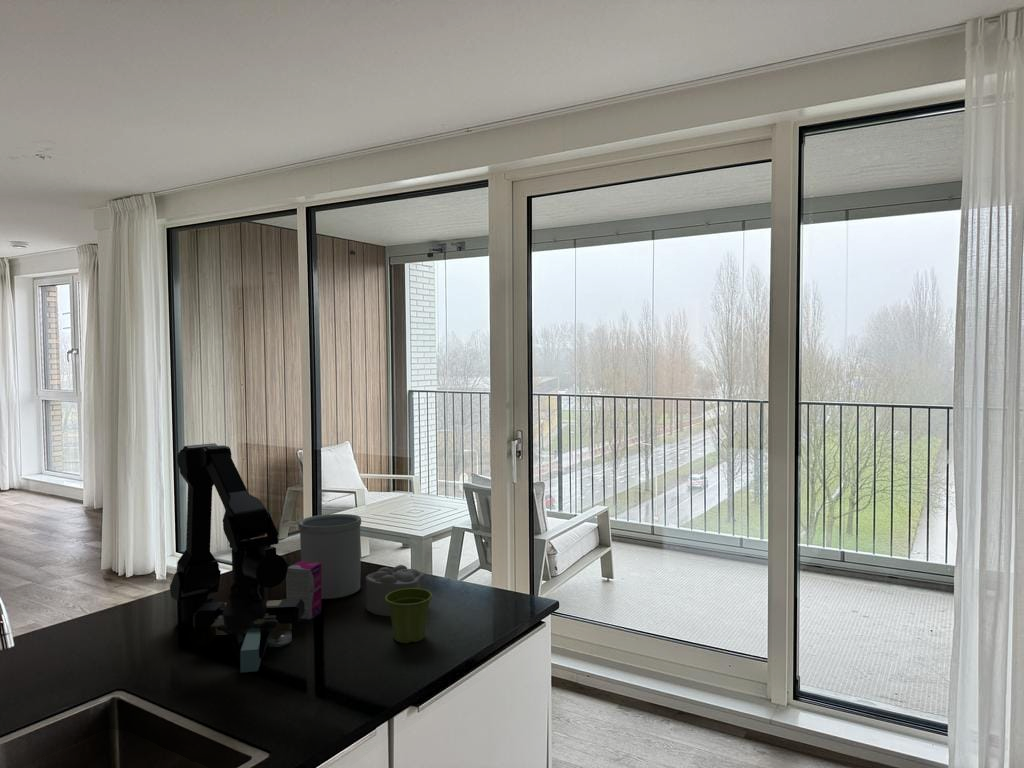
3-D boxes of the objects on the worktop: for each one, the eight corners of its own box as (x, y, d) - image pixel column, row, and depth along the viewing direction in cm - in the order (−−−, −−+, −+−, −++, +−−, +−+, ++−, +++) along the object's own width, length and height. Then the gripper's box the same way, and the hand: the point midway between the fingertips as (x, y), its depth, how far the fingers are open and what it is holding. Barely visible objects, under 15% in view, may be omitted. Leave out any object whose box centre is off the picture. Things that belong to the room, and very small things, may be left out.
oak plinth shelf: (202, 651, 135) (201, 619, 135) (218, 633, 144) (217, 602, 144) (281, 648, 137) (280, 615, 136) (291, 630, 146) (290, 599, 145)
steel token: (262, 649, 137) (262, 641, 137) (269, 638, 142) (269, 631, 142) (288, 647, 137) (288, 639, 137) (294, 637, 142) (294, 629, 142)
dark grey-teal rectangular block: (240, 672, 125) (240, 650, 125) (251, 637, 142) (251, 618, 142) (257, 671, 126) (258, 649, 126) (267, 636, 142) (267, 617, 142)
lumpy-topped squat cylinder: (413, 617, 152) (412, 578, 152) (358, 614, 155) (357, 575, 154) (428, 601, 162) (427, 564, 162) (376, 598, 165) (375, 562, 164)
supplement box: (310, 621, 150) (309, 569, 150) (285, 620, 151) (284, 568, 151) (323, 612, 156) (321, 561, 155) (299, 610, 157) (297, 560, 157)
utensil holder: (306, 582, 177) (304, 514, 177) (365, 579, 179) (364, 511, 178) (294, 602, 163) (292, 528, 162) (359, 598, 164) (357, 525, 164)
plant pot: (441, 632, 143) (440, 591, 143) (416, 650, 134) (415, 606, 134) (403, 626, 147) (402, 585, 147) (376, 643, 138) (375, 600, 138)
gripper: (179, 591, 119) (182, 681, 120) (290, 587, 121) (292, 675, 121) (202, 572, 131) (205, 653, 131) (304, 568, 132) (306, 648, 133)
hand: (251, 658), depth 129 cm, fingers closed on dark grey-teal rectangular block, 3 cm apart
